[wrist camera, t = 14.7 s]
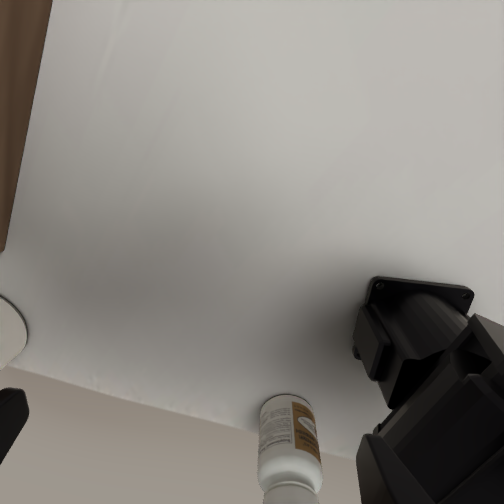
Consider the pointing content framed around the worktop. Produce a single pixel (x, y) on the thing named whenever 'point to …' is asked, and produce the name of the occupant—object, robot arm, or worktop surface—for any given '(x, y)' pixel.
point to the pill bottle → (288, 452)
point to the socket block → (17, 89)
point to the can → (11, 332)
